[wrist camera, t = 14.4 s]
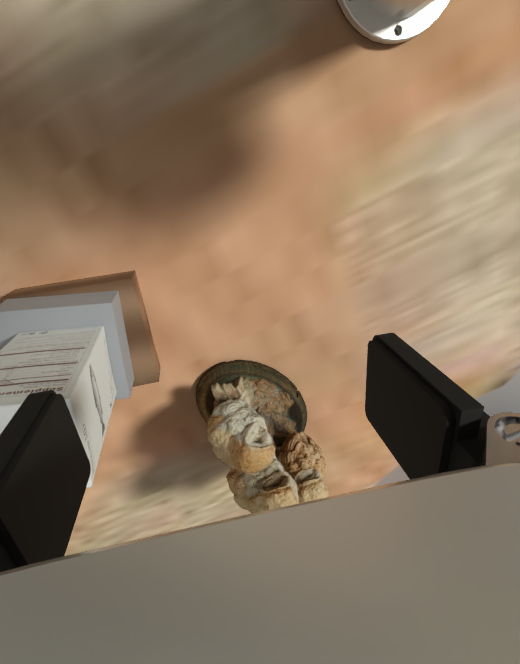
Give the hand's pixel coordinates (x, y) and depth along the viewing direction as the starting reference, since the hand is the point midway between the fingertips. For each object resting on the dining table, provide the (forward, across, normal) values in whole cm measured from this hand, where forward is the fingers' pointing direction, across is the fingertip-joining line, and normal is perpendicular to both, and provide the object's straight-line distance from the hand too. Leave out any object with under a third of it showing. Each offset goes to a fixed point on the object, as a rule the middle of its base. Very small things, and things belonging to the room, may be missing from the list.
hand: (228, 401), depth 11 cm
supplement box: (+23, +14, +9) cm, 28 cm away
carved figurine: (+30, -4, +23) cm, 38 cm away
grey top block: (+26, +14, +8) cm, 31 cm away
